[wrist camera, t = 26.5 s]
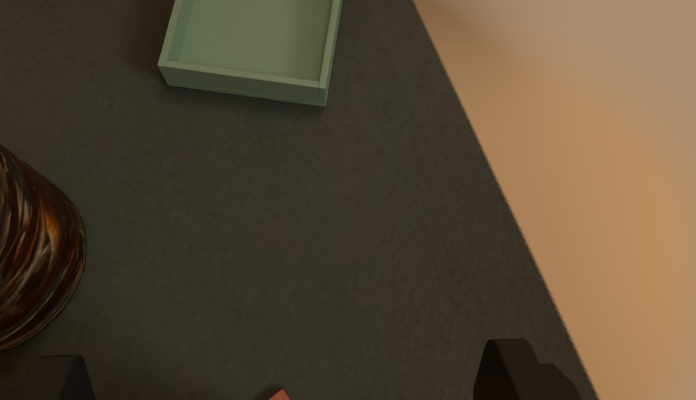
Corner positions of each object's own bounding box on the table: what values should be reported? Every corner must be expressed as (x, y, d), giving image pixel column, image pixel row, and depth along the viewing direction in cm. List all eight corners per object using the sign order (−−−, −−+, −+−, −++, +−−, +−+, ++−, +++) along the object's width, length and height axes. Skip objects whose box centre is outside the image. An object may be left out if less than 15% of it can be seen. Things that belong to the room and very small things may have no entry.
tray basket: (346, -24, 43) (348, -49, 40) (325, 107, 39) (325, 88, 37) (201, -44, 43) (193, -70, 40) (167, 85, 39) (157, 65, 37)
